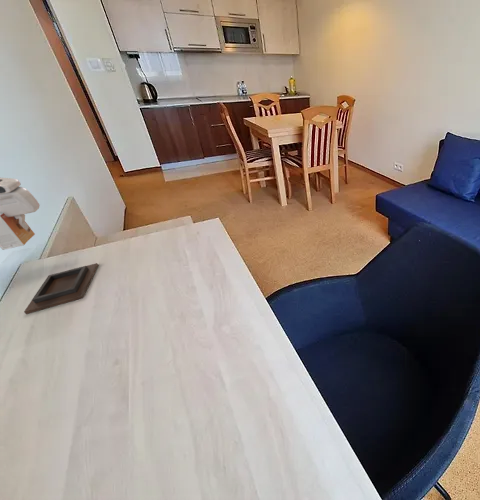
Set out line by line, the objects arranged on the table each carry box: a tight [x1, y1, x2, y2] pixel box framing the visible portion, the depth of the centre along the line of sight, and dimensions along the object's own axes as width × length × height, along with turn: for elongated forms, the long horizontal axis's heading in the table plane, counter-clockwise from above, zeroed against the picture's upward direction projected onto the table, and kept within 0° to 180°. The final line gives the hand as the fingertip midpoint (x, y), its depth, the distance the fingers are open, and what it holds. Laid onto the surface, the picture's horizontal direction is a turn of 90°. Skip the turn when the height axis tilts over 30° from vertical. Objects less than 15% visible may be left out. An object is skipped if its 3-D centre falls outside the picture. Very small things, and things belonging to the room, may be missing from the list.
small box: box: [0, 213, 36, 251], centre depth 93 cm, size 8×6×10 cm
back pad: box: [23, 262, 100, 315], centre depth 94 cm, size 14×18×2 cm
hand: (10, 230), depth 94 cm, fingers closed on small box, 5 cm apart
